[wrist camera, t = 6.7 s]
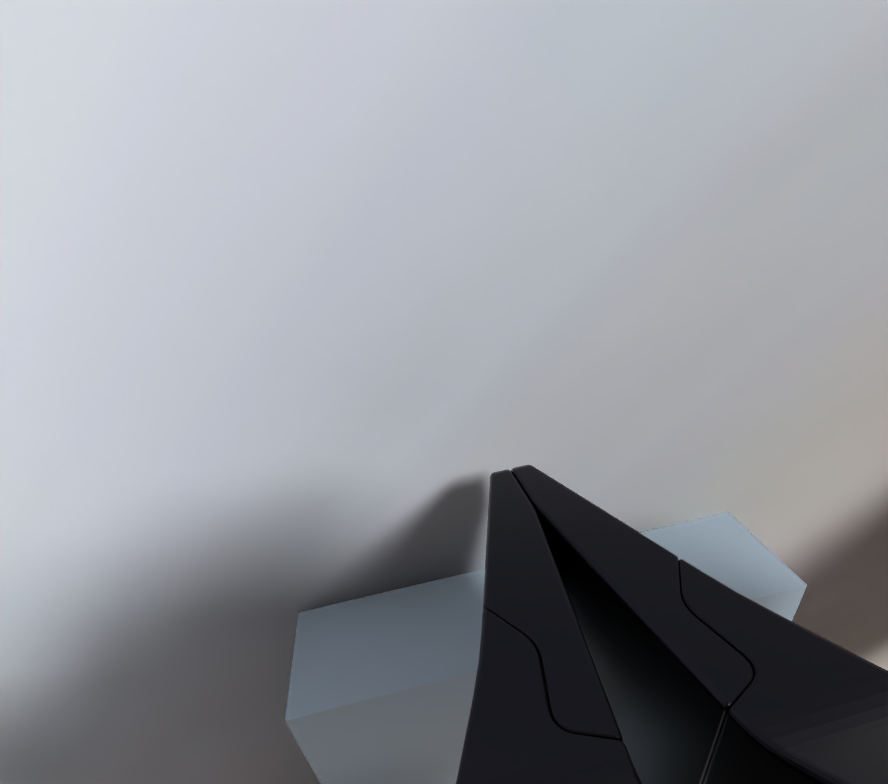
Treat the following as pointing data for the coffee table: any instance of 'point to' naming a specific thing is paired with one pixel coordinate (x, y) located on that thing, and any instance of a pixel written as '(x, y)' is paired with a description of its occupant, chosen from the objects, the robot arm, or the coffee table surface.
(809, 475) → the coffee table surface
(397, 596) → the slate tile
